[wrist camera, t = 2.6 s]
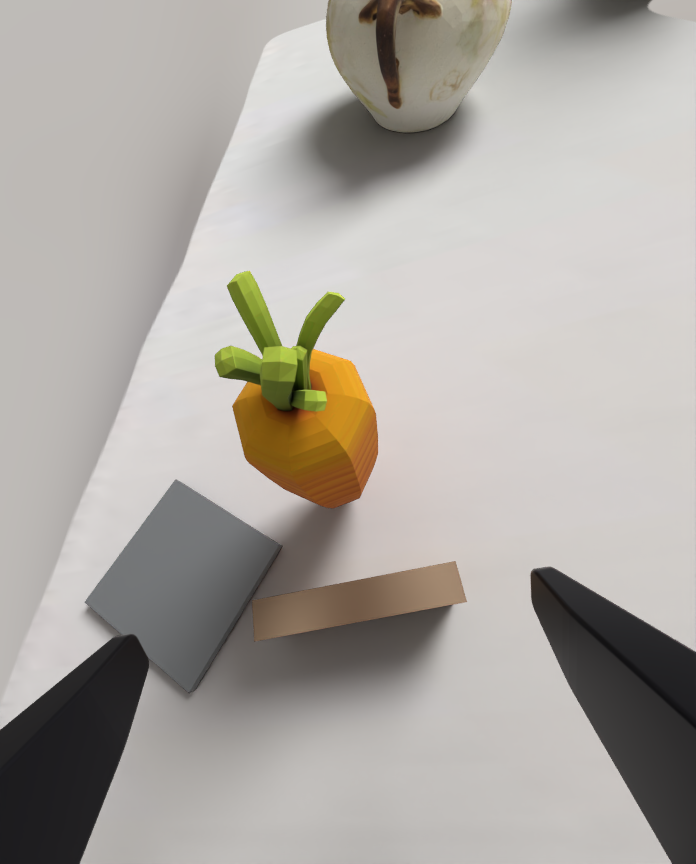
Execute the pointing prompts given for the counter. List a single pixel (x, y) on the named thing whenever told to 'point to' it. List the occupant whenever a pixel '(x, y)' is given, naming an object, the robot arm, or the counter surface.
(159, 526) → the charcoal mat
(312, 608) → the walnut block
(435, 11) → the sugar bowl
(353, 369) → the carrot
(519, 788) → the counter surface
